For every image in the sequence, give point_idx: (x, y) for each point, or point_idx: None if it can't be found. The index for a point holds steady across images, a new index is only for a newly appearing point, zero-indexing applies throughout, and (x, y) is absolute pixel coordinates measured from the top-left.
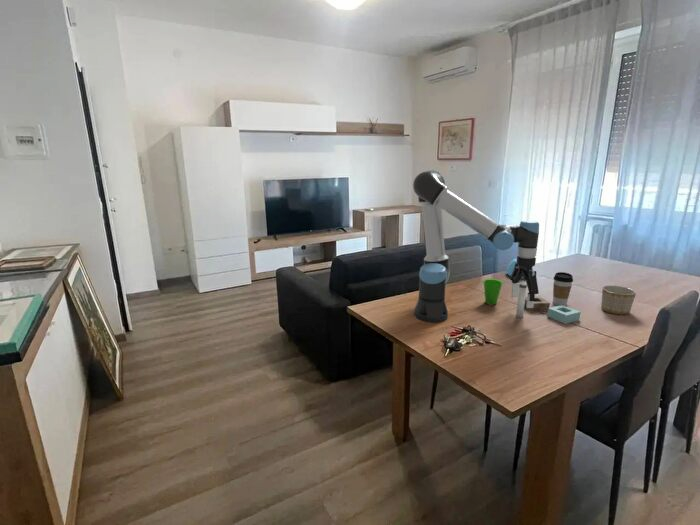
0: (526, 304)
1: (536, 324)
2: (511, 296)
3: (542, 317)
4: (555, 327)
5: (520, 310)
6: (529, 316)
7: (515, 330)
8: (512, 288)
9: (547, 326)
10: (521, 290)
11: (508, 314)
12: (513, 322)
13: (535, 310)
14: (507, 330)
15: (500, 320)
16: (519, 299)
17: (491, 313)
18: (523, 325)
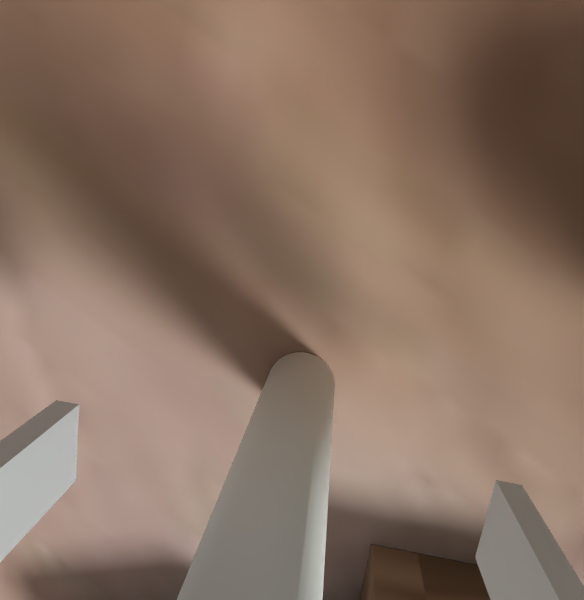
0: (463, 595)
1: (101, 405)
2: (519, 485)
3: None
4: None
5: (259, 397)
6: None
7: (2, 132)
8: (576, 595)
9: None
10: (193, 591)
11: (366, 304)
12: (172, 229)
13: (362, 594)
14: (8, 48)
15: (243, 121)
16: (255, 457)
17: (445, 131)
18: (96, 280)
